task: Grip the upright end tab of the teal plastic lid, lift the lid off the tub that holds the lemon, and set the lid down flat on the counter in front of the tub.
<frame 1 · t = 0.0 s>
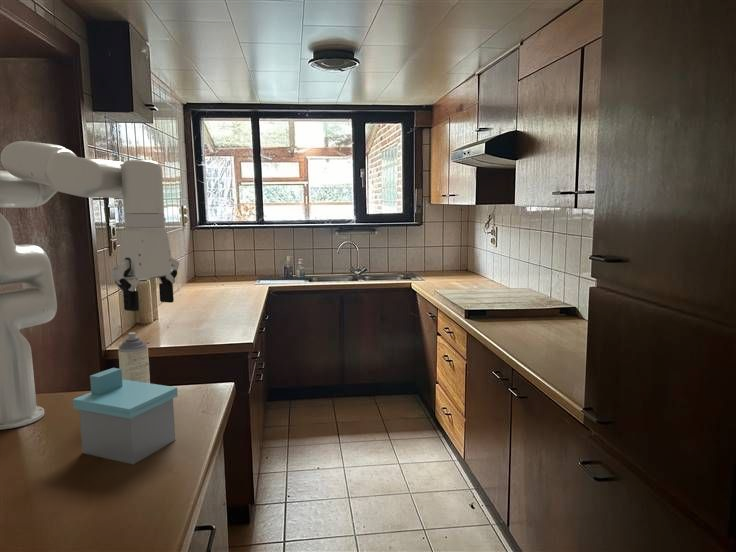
hand: (150, 306, 109), 31 cm above the countertop, fingers open, 9 cm apart
tub: (130, 446, 115), on the countertop
lid: (127, 402, 113), point 10 cm above the countertop, touching tub
aerosol can: (137, 409, 136), on the countertop
lemon: (130, 447, 115), resting in tub
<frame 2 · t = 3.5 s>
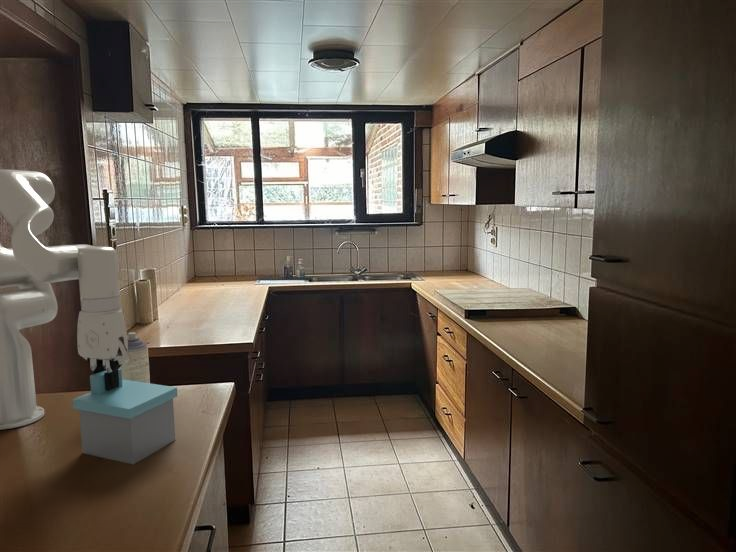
hand: (106, 387, 115), 13 cm above the countertop, fingers closed on lid, 2 cm apart
lid: (127, 402, 113), point 10 cm above the countertop, touching gripper
everything else where it was.
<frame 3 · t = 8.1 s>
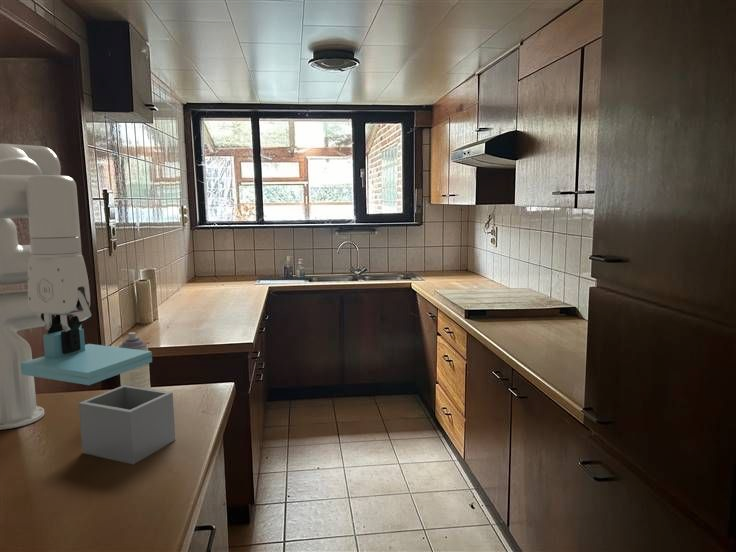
hand: (65, 350, 94), 26 cm above the countertop, fingers closed on lid, 2 cm apart
lid: (89, 368, 92), point 24 cm above the countertop, touching gripper
everything else where it was.
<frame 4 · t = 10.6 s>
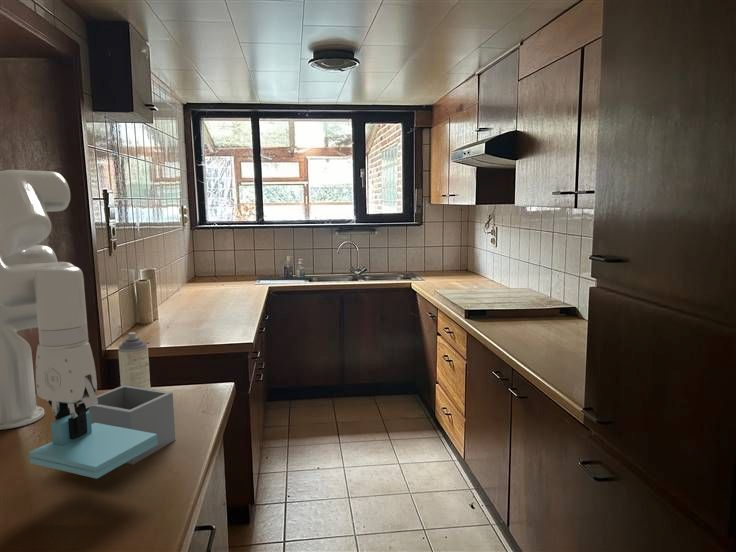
hand: (72, 434, 96), 11 cm above the countertop, fingers closed on lid, 2 cm apart
lid: (96, 453, 94), point 8 cm above the countertop, touching gripper
everything else where it was.
when the fingers open (4 cm above the countertop, at t = 12.7 s): lid drops 1 cm, on the countertop.
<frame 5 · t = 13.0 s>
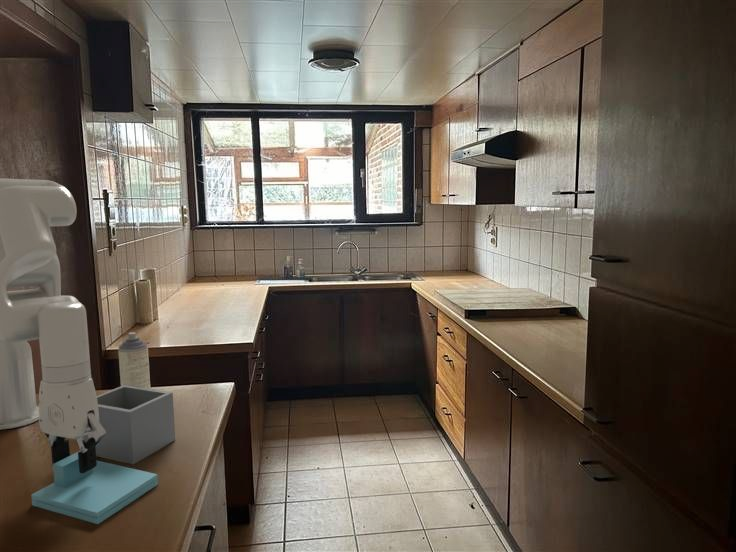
hand: (74, 465, 97), 5 cm above the countertop, fingers open, 6 cm apart
lid: (97, 494, 95), on the countertop
everything else where it was.
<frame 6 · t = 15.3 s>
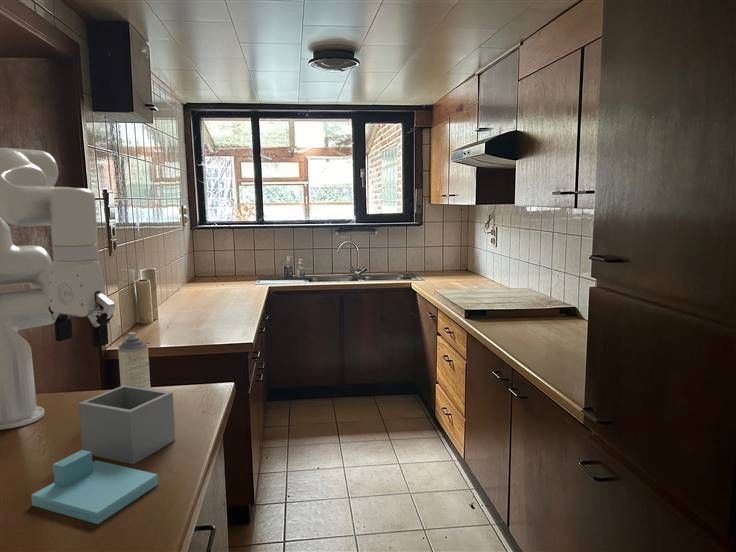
hand: (82, 342, 102), 26 cm above the countertop, fingers open, 9 cm apart
nothing on the countertop moved.
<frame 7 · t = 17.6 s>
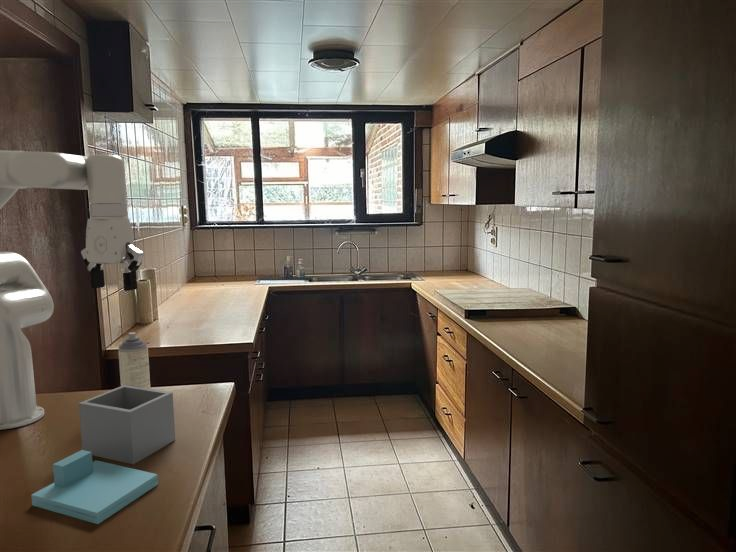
hand: (114, 288, 119), 33 cm above the countertop, fingers open, 9 cm apart
nothing on the countertop moved.
at the end: lid touching countertop; lid inside the target area (0.4 cm from its centre), on the countertop; lid tilted 0° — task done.
